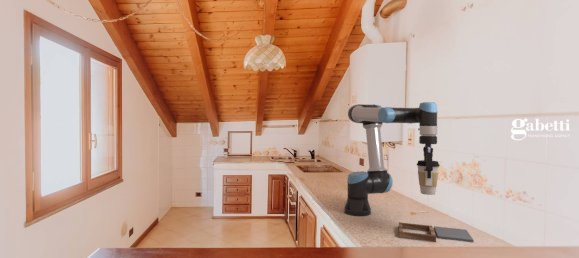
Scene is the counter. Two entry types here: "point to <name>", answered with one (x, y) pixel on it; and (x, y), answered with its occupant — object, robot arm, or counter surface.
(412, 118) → the robot arm
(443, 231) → the trivet mat
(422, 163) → the coffee cup
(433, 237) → the walnut collar
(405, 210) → the counter surface
